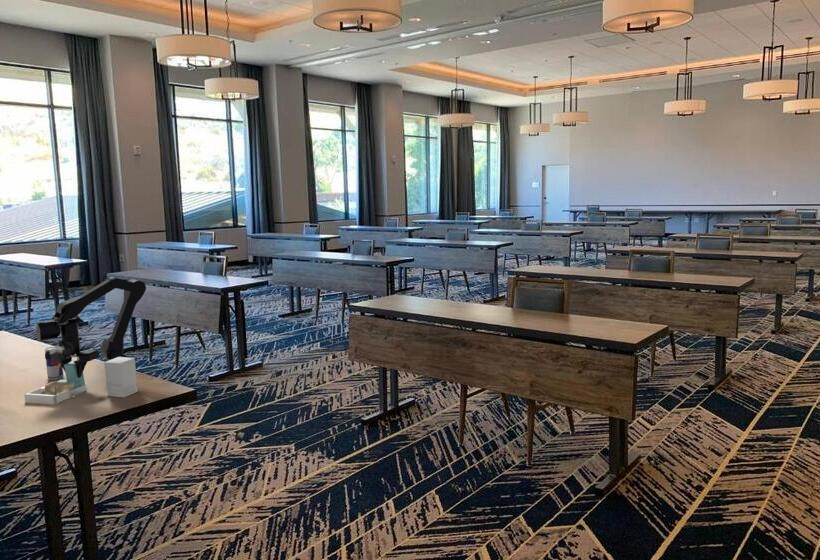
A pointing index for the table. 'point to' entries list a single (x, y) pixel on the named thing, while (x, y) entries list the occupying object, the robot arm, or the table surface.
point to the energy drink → (53, 368)
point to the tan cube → (51, 388)
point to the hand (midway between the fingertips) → (74, 377)
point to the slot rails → (73, 391)
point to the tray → (45, 397)
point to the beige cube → (64, 387)
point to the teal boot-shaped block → (72, 375)
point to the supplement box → (121, 377)
